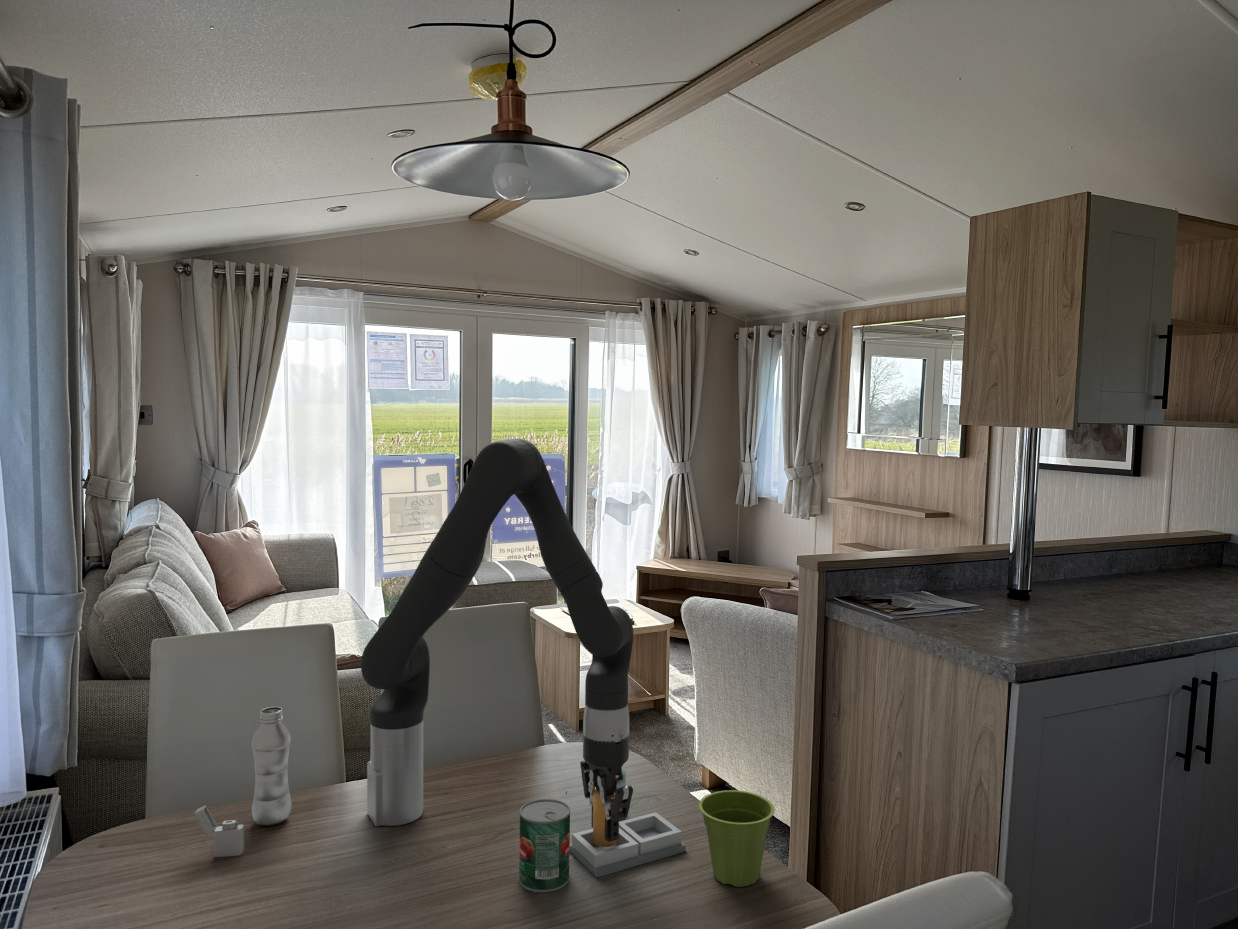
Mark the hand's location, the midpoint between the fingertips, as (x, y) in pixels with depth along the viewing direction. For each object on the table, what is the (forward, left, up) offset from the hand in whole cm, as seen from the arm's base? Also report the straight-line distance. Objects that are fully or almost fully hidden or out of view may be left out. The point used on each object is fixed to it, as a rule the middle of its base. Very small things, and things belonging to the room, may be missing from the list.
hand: (605, 833), depth 136 cm
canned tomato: (-12, -1, -4) cm, 12 cm away
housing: (+4, 0, -4) cm, 6 cm away
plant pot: (+15, -15, -4) cm, 22 cm away
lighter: (-55, +31, -4) cm, 63 cm away
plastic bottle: (-46, +39, -4) cm, 60 cm away
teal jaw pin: (+9, +12, -4) cm, 15 cm away
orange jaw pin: (0, 0, -1) cm, 1 cm away
